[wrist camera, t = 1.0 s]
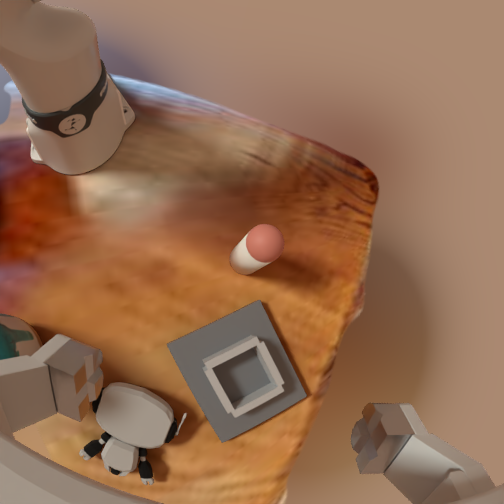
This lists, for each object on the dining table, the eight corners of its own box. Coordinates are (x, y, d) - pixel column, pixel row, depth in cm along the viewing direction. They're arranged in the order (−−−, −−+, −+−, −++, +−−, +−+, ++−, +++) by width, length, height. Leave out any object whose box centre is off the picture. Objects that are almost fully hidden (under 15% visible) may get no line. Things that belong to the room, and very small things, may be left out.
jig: (166, 343, 40) (166, 346, 35) (256, 300, 44) (266, 298, 40) (220, 439, 38) (225, 450, 34) (302, 393, 43) (315, 400, 38)
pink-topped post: (224, 251, 44) (243, 227, 33) (251, 240, 46) (278, 213, 34) (237, 279, 44) (262, 265, 32) (264, 267, 45) (296, 249, 34)
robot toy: (155, 478, 35) (187, 400, 39) (154, 494, 31) (188, 412, 34) (80, 447, 33) (105, 365, 37) (71, 460, 29) (97, 373, 32)
